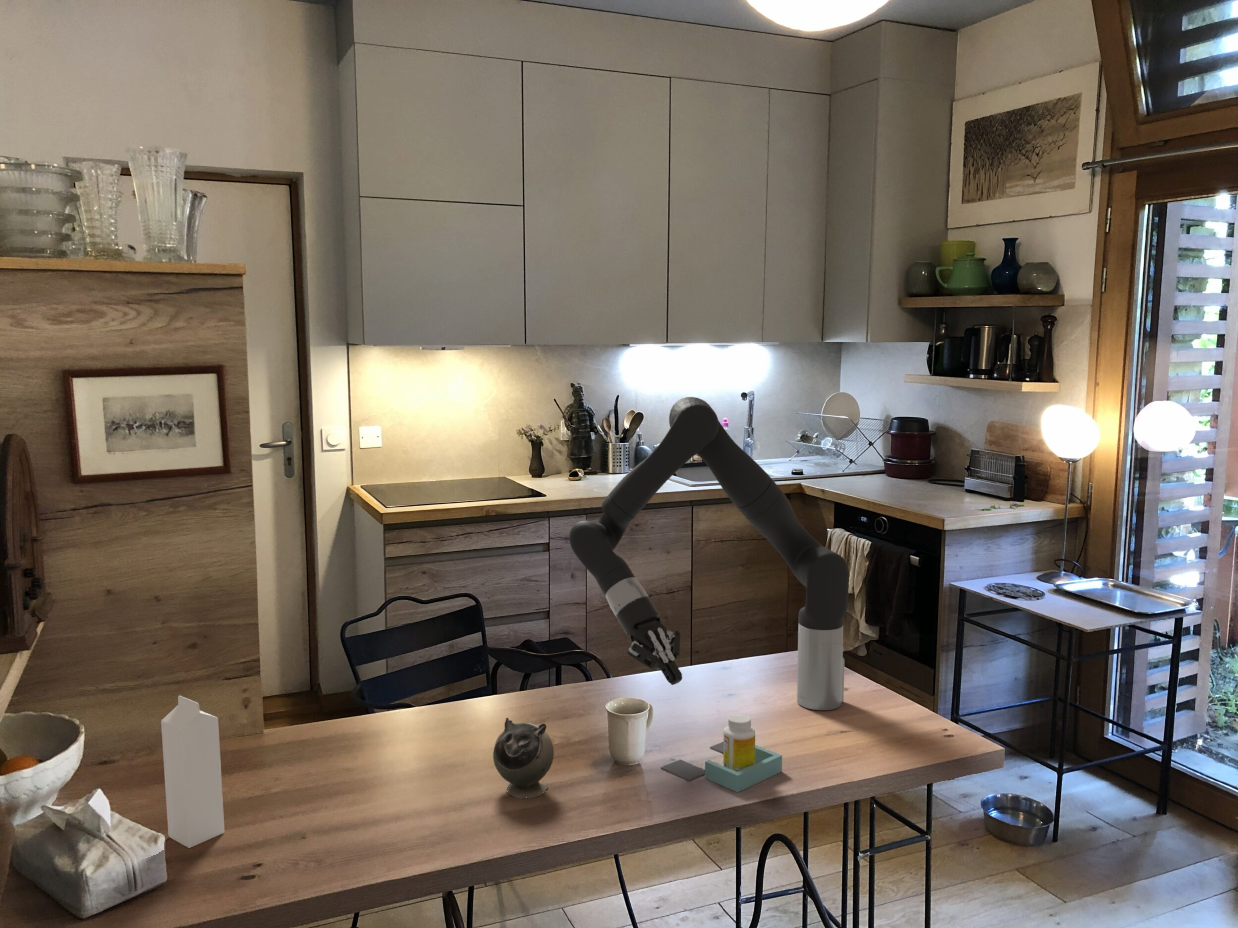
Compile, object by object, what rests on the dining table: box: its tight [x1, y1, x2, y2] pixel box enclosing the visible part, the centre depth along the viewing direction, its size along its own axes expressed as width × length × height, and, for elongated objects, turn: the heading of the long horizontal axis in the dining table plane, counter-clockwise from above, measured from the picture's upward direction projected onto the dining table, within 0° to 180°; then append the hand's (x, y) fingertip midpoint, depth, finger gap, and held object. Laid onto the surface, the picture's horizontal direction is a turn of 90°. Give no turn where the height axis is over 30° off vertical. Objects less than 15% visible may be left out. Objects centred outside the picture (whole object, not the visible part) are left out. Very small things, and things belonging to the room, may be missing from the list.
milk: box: [160, 695, 225, 849], centre depth 150 cm, size 6×6×22 cm
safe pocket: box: [704, 744, 783, 793], centre depth 171 cm, size 12×8×3 cm, turn 132°
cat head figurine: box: [492, 717, 555, 799], centre depth 165 cm, size 10×12×10 cm
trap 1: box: [660, 758, 705, 782], centre depth 173 cm, size 5×7×1 cm
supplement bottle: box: [723, 713, 756, 772], centre depth 171 cm, size 6×6×10 cm
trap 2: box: [709, 741, 724, 755], centre depth 182 cm, size 5×7×1 cm
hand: (677, 681), depth 182 cm, fingers closed
